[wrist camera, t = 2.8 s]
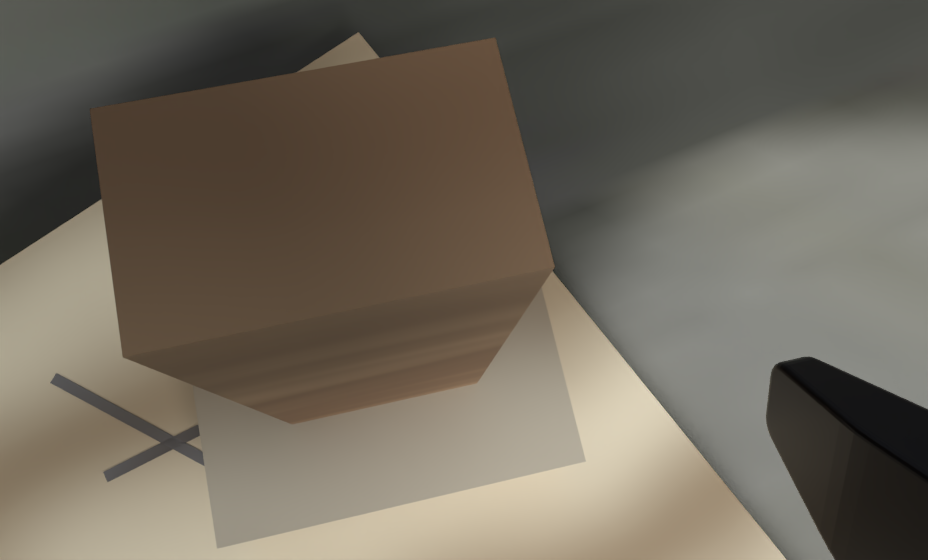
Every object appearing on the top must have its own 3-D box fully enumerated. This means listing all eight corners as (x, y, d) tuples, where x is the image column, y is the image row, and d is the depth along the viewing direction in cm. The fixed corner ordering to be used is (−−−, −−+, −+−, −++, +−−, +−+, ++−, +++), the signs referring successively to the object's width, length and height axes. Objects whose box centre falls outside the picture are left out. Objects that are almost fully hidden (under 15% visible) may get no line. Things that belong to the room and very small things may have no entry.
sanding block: (562, 462, 18) (811, 445, 7) (245, 538, 17) (-84, 661, 6) (500, 210, 19) (618, -163, 8) (202, 269, 18) (-131, -51, 7)
